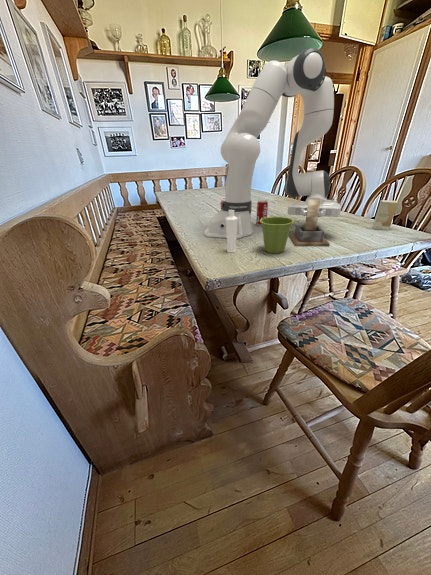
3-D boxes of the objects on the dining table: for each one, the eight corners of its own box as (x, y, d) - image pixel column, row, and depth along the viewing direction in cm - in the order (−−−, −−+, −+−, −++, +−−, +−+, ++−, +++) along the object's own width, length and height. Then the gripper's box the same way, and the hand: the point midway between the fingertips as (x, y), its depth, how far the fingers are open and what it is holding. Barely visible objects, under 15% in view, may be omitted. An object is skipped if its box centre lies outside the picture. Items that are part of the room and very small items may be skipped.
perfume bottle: (229, 253, 91) (229, 212, 84) (223, 250, 94) (223, 210, 87) (239, 251, 93) (240, 210, 85) (233, 248, 96) (234, 208, 89)
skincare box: (373, 229, 113) (381, 201, 107) (372, 226, 116) (379, 199, 110) (389, 230, 111) (398, 202, 105) (388, 227, 114) (396, 200, 108)
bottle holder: (294, 246, 96) (296, 233, 94) (288, 236, 107) (290, 224, 105) (329, 246, 95) (331, 233, 93) (319, 236, 106) (321, 224, 104)
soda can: (266, 223, 127) (267, 199, 122) (266, 226, 123) (268, 201, 117) (255, 223, 128) (257, 199, 122) (256, 226, 123) (257, 201, 118)
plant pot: (281, 243, 99) (284, 215, 94) (296, 254, 89) (300, 222, 83) (253, 246, 97) (255, 217, 92) (265, 257, 87) (267, 225, 81)
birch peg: (305, 232, 98) (310, 201, 92) (303, 229, 101) (307, 199, 96) (317, 232, 97) (322, 201, 91) (314, 229, 101) (318, 199, 95)
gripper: (290, 198, 108) (285, 204, 97) (341, 200, 101) (342, 206, 90) (288, 213, 111) (284, 220, 100) (338, 215, 104) (339, 223, 93)
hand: (312, 214), depth 95 cm, fingers closed on birch peg, 4 cm apart
